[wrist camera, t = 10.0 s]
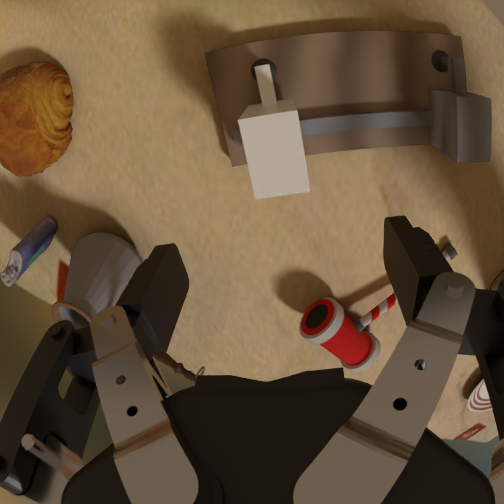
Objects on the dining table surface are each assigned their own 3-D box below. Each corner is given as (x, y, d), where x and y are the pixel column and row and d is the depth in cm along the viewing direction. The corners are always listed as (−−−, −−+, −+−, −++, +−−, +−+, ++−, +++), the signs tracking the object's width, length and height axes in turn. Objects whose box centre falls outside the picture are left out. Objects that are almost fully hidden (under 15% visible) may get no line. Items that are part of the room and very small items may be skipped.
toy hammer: (432, 213, 34) (454, 241, 29) (464, 268, 38) (482, 297, 32) (297, 311, 44) (298, 346, 39) (344, 348, 48) (348, 380, 43)
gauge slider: (285, 62, 25) (287, 60, 17) (302, 156, 30) (310, 191, 22) (241, 69, 25) (226, 71, 18) (261, 162, 30) (255, 199, 23)
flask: (49, 212, 38) (4, 254, 29) (62, 225, 39) (19, 271, 30) (29, 245, 41) (-8, 287, 33) (41, 257, 43) (5, 300, 34)
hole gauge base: (454, 36, 21) (493, 36, 15) (461, 139, 28) (497, 161, 22) (208, 53, 26) (187, 50, 20) (234, 162, 32) (222, 189, 26)
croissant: (7, 76, 28) (-36, 88, 22) (79, 48, 25) (27, 54, 19) (19, 168, 36) (-20, 189, 29) (89, 164, 33) (44, 190, 27)
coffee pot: (84, 277, 44) (36, 349, 31) (80, 213, 37) (14, 283, 25) (214, 317, 46) (194, 406, 33) (233, 256, 39) (211, 352, 27)
